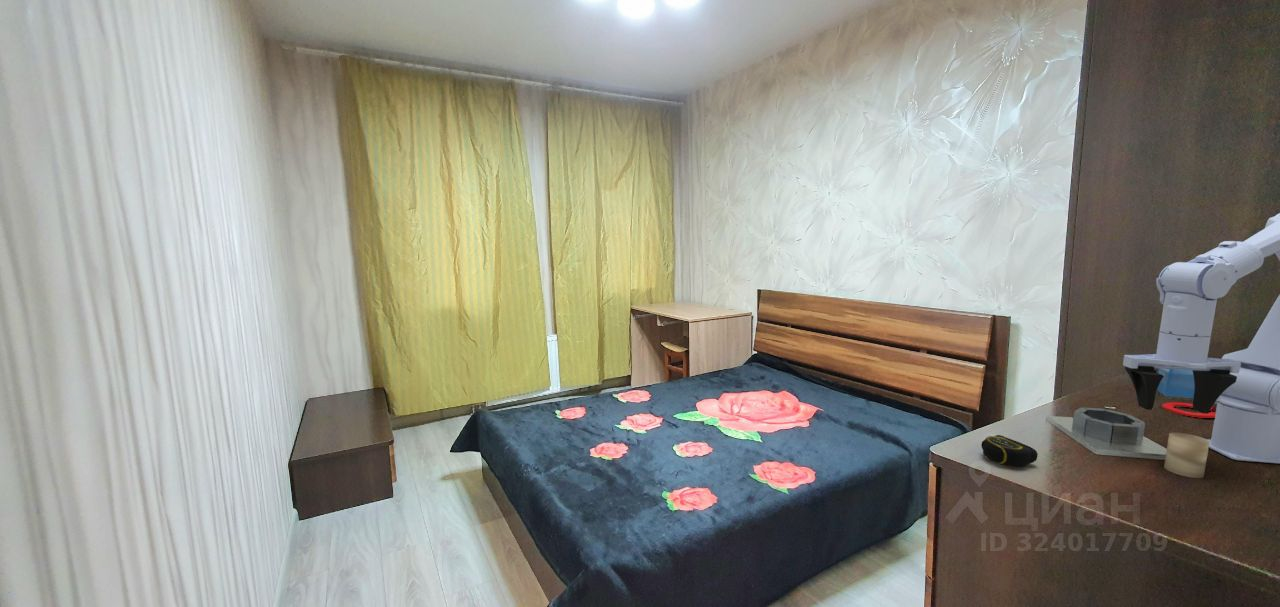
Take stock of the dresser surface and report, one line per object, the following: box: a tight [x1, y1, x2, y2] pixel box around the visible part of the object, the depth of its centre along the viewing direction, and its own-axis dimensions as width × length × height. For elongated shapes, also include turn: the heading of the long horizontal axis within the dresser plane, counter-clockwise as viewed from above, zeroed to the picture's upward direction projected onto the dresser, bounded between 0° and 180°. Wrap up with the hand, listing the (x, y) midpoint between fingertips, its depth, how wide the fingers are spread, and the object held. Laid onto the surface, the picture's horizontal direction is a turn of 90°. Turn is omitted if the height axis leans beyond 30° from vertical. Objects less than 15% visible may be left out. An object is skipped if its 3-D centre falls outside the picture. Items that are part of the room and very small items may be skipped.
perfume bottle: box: [1157, 369, 1195, 398], centre depth 112 cm, size 6×6×12 cm
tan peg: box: [1163, 432, 1210, 479], centre depth 79 cm, size 4×4×6 cm
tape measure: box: [981, 434, 1038, 468], centre depth 84 cm, size 7×7×4 cm
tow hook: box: [1162, 401, 1218, 419], centre depth 102 cm, size 8×13×9 cm
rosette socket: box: [1045, 407, 1167, 461], centre depth 91 cm, size 12×16×4 cm
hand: (1172, 409), depth 81 cm, fingers open, 7 cm apart
